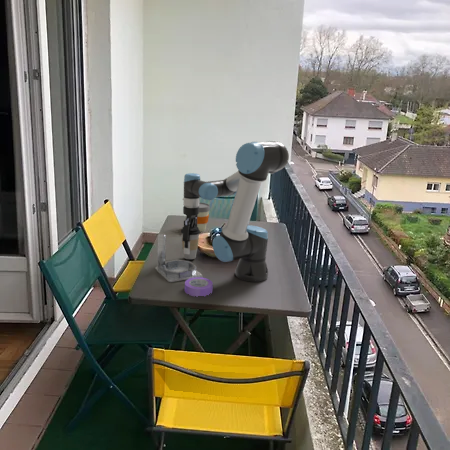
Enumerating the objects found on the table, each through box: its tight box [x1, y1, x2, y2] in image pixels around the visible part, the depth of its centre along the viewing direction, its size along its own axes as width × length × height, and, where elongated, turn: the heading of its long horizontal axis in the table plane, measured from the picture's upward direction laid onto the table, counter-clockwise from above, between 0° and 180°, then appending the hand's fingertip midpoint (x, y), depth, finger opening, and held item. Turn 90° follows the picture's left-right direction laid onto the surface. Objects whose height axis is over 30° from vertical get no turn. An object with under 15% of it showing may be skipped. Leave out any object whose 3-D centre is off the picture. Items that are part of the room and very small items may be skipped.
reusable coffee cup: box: [197, 201, 211, 233], centre depth 271 cm, size 13×13×15 cm
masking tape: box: [184, 276, 214, 298], centre depth 192 cm, size 12×12×4 cm
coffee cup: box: [180, 226, 201, 260], centre depth 224 cm, size 9×9×15 cm
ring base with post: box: [155, 233, 203, 283], centre depth 206 cm, size 16×16×17 cm
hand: (189, 250), depth 225 cm, fingers closed on coffee cup, 8 cm apart
